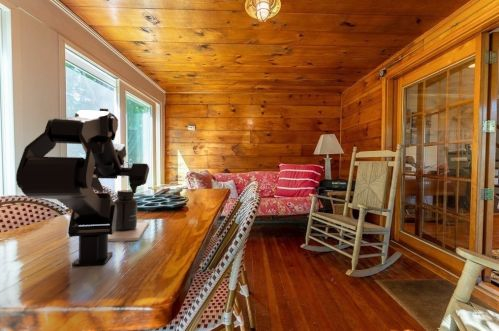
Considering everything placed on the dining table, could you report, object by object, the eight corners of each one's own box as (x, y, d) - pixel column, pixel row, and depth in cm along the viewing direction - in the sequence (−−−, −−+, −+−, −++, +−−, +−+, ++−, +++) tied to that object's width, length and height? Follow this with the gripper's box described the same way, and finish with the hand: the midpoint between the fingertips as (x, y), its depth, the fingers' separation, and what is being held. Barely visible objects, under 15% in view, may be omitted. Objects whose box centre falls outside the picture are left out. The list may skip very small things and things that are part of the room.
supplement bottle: (136, 230, 82) (137, 192, 82) (111, 232, 80) (112, 192, 79) (136, 225, 89) (137, 189, 88) (113, 227, 86) (114, 189, 86)
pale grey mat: (138, 240, 76) (138, 237, 76) (91, 241, 73) (91, 239, 73) (148, 224, 93) (148, 222, 93) (111, 225, 91) (111, 223, 91)
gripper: (148, 134, 74) (156, 171, 85) (75, 131, 72) (94, 170, 83) (139, 164, 66) (149, 200, 78) (58, 162, 64) (81, 200, 75)
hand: (118, 191), depth 79 cm, fingers open, 9 cm apart
